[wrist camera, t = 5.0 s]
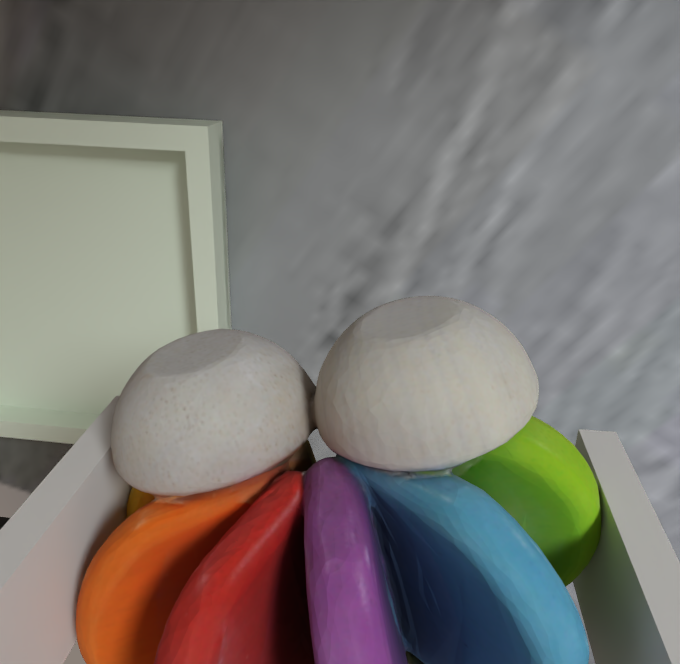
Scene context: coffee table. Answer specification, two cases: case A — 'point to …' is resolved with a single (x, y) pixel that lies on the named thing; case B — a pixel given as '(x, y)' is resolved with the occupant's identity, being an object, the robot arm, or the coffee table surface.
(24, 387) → the tray
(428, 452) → the rainbow lobed toy
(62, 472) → the robot arm
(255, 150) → the coffee table surface
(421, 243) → the coffee table surface
